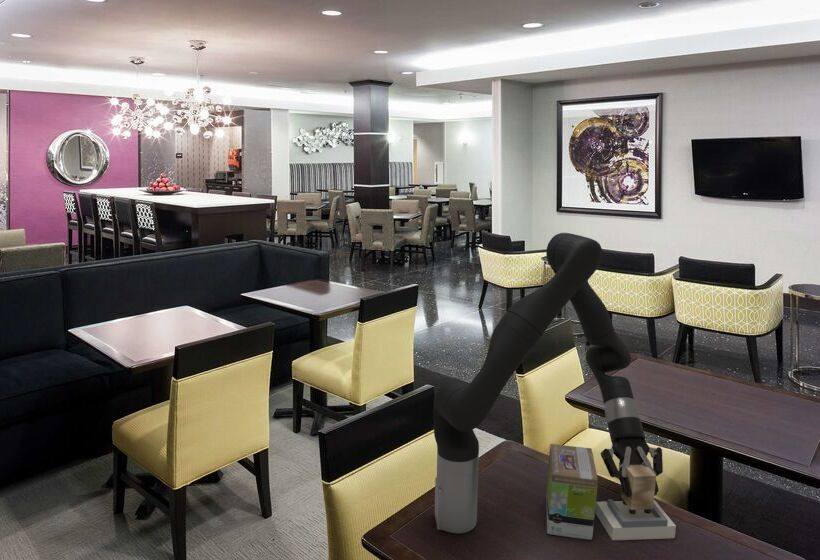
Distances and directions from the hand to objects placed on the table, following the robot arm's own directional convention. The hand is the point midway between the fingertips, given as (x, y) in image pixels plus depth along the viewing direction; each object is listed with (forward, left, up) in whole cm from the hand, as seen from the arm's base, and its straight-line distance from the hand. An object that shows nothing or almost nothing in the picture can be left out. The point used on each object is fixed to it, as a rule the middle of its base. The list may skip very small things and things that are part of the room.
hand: (641, 495), depth 131 cm
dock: (0, +2, -9) cm, 9 cm away
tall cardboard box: (0, +2, -4) cm, 5 cm away
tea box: (-14, +6, -9) cm, 18 cm away
